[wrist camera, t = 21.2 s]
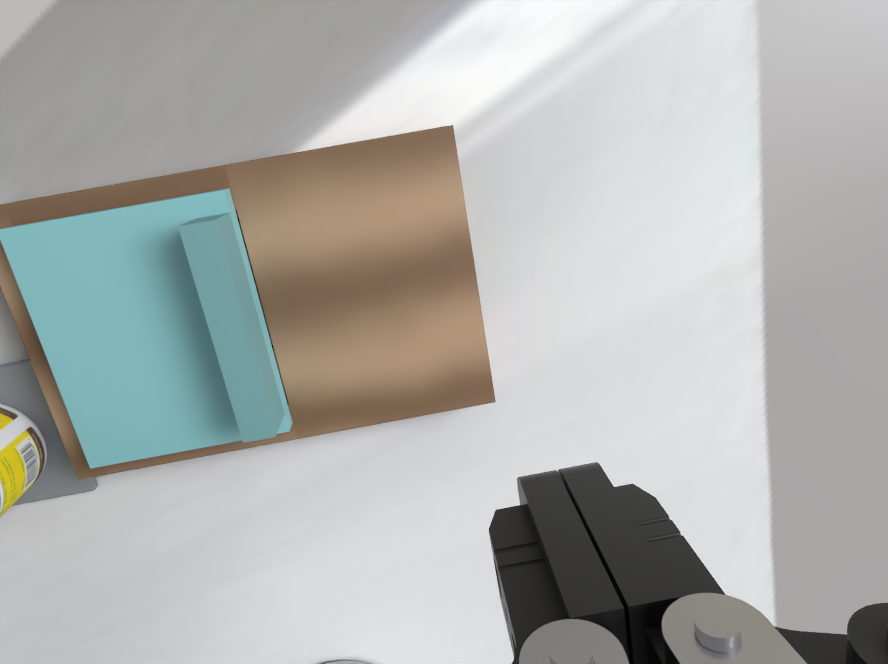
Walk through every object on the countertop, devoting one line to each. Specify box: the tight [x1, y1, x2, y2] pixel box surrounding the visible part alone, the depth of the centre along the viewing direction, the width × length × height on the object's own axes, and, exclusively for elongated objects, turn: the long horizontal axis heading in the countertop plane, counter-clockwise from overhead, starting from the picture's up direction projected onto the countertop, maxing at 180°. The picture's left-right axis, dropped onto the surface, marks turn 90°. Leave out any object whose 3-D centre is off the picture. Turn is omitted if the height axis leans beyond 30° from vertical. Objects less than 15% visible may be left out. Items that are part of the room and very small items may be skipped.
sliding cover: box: [0, 188, 292, 469], centre depth 28 cm, size 12×10×4 cm
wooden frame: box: [0, 125, 495, 480], centre depth 32 cm, size 14×22×3 cm, turn 99°
